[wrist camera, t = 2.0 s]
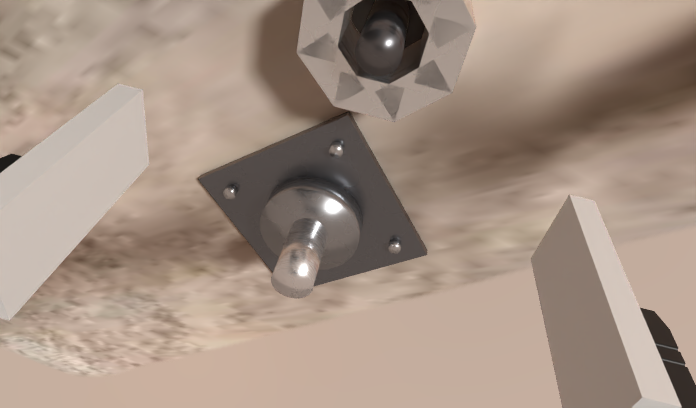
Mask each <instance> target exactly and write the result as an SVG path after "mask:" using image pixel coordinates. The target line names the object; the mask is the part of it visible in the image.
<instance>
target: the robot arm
mask: <svg viewBox="0 0 696 408" xmlns="http://www.w3.org/2000/svg"><path fill="white" fill-rule="evenodd" d="M148 165H149V158H148V146H147V134H146V121H145V109H144V97H143V89H139V88H135V87H130V86H126V85H122V84H117V85H115V86H114V87H113V88H111V89H110V90H109V91H108V92H106V93H105V94H104V95H102V96H101V97H100V98H98V99H97V100H96V101H94V102H93V103H92V104H90V105H89V106H88V107H86V108H85V109H84V110H83V111H81V112H80V113H79V114H77V115H76V116H75V117H73V118H72V119H71V120H69V121H68V122H67V123H65V124H64V125H63V126H62V127H60V128H59V129H58V130H56V131H55V132H54V133H52V134H51V135H50V136H48V137H47V138H46V139H44V140H43V141H42V142H40V143H39V144H38V145H37V146H35V147H34V148H33V149H31V150H30V151H29V152H27V153H26V154H25V155H23V156H19V155H15V154H10V155H7V156H5V157H2V158H0V318H1V319H5V320H9V321H10V320H11V319H12V318H13V316H14V315H15V314H16V313H17V312H18V311H19V310H20V309H21V307H22V306H23V305H24V304H25V303H26V302H27V301H28V300H29V298H30V297H31V296H32V295H33V294H34V293H35V292H36V291H37V290H38V288H39V287H40V286H41V285H42V284H43V283H44V282H45V281H46V279H47V278H48V277H49V276H50V275H51V274H52V273H53V272H54V271H55V269H56V268H57V267H58V266H59V265H60V264H61V263H62V262H63V260H64V259H65V258H66V257H67V256H68V255H69V254H70V253H71V251H72V250H73V249H74V248H75V247H76V246H77V245H78V244H79V243H80V241H81V240H82V239H83V238H84V237H85V236H86V235H87V234H88V232H89V231H90V230H91V229H92V228H93V227H94V226H95V225H96V224H97V222H98V221H99V220H100V219H101V218H102V217H103V216H104V215H105V213H106V212H107V211H108V210H109V209H110V208H111V207H112V206H113V204H114V203H115V202H116V201H117V200H118V199H119V198H120V197H121V196H122V194H123V193H124V192H125V191H126V190H127V189H128V188H129V187H130V185H131V184H132V183H133V182H134V181H135V180H136V179H137V178H138V177H139V175H140V174H141V173H142V172H143V171H144V170H145V169H146V168H147V166H148ZM531 262H532V267H533V272H534V276H535V281H536V286H537V290H538V295H539V300H540V304H541V309H542V314H543V318H544V323H545V328H546V332H547V337H548V342H549V347H550V351H551V356H552V361H553V365H554V370H555V375H556V380H557V384H558V389H559V394H560V398H561V403H562V408H696V385H695V383H694V381H693V379H692V376H691V374H690V372H689V370H688V368H687V367H685V361H684V359H683V357H682V355H681V353H680V352H678V347H677V344H676V342H675V340H674V338H673V336H672V333H671V331H670V329H669V328H668V327H667V326H666V325H665V323H664V322H663V321H662V320H661V319H660V318H659V316H658V315H657V314H656V313H655V312H654V311H651V310H647V309H643V308H640V307H639V305H638V302H637V300H636V298H635V295H634V293H633V291H632V288H631V286H630V284H629V281H628V279H627V276H626V274H625V272H624V269H623V267H622V265H621V262H620V260H619V258H618V255H617V253H616V250H615V248H614V246H613V243H612V241H611V238H610V236H609V234H608V231H607V229H606V227H605V224H604V222H603V220H602V217H601V215H600V212H599V210H598V208H597V205H596V203H595V201H594V200H590V199H586V198H582V197H578V196H574V195H570V194H569V196H568V198H567V199H566V201H565V203H564V204H563V206H562V208H561V209H560V211H559V213H558V214H557V216H556V218H555V219H554V221H553V223H552V224H551V226H550V228H549V229H548V231H547V233H546V234H545V236H544V238H543V239H542V241H541V243H540V244H539V246H538V248H537V249H536V251H535V253H534V254H533V256H532V258H531Z"/></svg>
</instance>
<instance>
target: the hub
mask: <svg viewBox="0 0 696 408" xmlns="http://www.w3.org/2000/svg"><path fill="white" fill-rule="evenodd" d="M198 180H199V181H200V182H201V183H202V185H203V186H204V187H205V188H206V190H207V191H208V192H209V193H210V195H211V196H212V197H213V198H214V200H215V201H216V202H217V203H218V205H219V206H220V207H221V208H222V210H223V211H224V212H225V213H226V215H227V216H228V217H229V218H230V220H231V221H232V222H233V223H234V225H235V226H236V227H237V228H238V230H239V231H240V232H241V233H242V235H243V236H244V237H245V238H246V240H247V241H248V242H249V243H250V245H251V246H252V247H253V248H254V250H255V251H256V252H257V253H258V255H259V256H260V257H261V258H262V260H263V261H264V262H265V263H266V265H267V266H268V267H269V268H270V270H271V271H272V272H273V274H272V277H271V283H272V285H273V287H274V288H275V289H276V290H277V291H278V292H279V293H280V294H282V295H284V296H287V297H290V298H303V297H306V296H308V295H309V294H310V293H311V292H312V289H313V286H316V285H320V284H324V283H327V282H331V281H334V280H338V279H342V278H345V277H349V276H353V275H356V274H360V273H363V272H367V271H371V270H374V269H378V268H381V267H385V266H389V265H392V264H396V263H399V262H403V261H407V260H410V259H414V258H417V257H421V256H425V255H427V249H426V247H425V245H424V243H423V242H422V240H421V238H420V236H419V235H418V233H417V231H416V229H415V227H414V226H413V224H412V222H411V220H410V219H409V217H408V215H407V213H406V211H405V210H404V208H403V206H402V204H401V202H400V201H399V199H398V197H397V195H396V194H395V192H394V190H393V188H392V186H391V185H390V183H389V181H388V179H387V178H386V176H385V174H384V172H383V170H382V169H381V167H380V165H379V163H378V161H377V160H376V158H375V156H374V154H373V153H372V151H371V149H370V147H369V145H368V144H367V142H366V140H365V138H364V137H363V135H362V133H361V131H360V129H359V128H358V126H357V124H356V122H355V120H354V119H353V117H352V115H351V113H350V112H347V113H344V114H342V115H340V116H337V117H335V118H333V119H330V120H328V121H326V122H323V123H321V124H319V125H316V126H314V127H312V128H309V129H307V130H305V131H303V132H300V133H298V134H296V135H293V136H291V137H289V138H286V139H284V140H282V141H279V142H277V143H275V144H272V145H270V146H268V147H265V148H263V149H261V150H258V151H256V152H254V153H251V154H249V155H247V156H245V157H242V158H240V159H238V160H235V161H233V162H231V163H228V164H226V165H224V166H221V167H219V168H217V169H214V170H212V171H210V172H207V173H205V174H203V175H201V176H200V177H199V179H198Z"/></svg>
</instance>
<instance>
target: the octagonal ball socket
mask: <svg viewBox="0 0 696 408" xmlns="http://www.w3.org/2000/svg"><path fill="white" fill-rule="evenodd" d="M360 1H362V0H304V3H303V10H302V17H301V24H300V31H299V39H298V46H297V54H298V56H299V57H300V58H301V60H302V61H303V63H304V64H305V66H306V67H307V69H308V70H309V71H310V73H311V74H312V76H313V77H314V79H315V80H316V82H317V83H318V84H319V86H320V87H321V89H322V90H323V92H324V93H325V95H326V96H327V97H328V99H329V100H330V102H331V103H332V105H333V106H334V107H338V108H342V109H346V110H350V111H354V112H358V113H361V114H365V115H369V116H373V117H377V118H381V119H385V120H389V121H392V122H396V121H398V120H400V119H402V118H404V117H406V116H408V115H410V114H412V113H413V112H415V111H417V110H419V109H421V108H423V107H425V106H427V105H429V104H431V103H433V102H435V101H437V100H439V99H441V98H443V97H445V96H447V95H449V94H451V93H452V92H453V90H454V87H455V84H456V81H457V79H458V76H459V73H460V70H461V68H462V65H463V62H464V59H465V57H466V54H467V51H468V48H469V46H470V43H471V40H472V37H473V35H474V32H475V29H476V23H475V18H474V12H473V7H472V1H471V0H409V1H412V3H413V5H414V6H415V8H416V10H417V12H418V14H419V16H420V17H421V19H422V21H423V23H424V25H425V29H424V33H423V36H422V38H421V39H420V40H418V41H416V42H415V43H413V44H411V45H409V46H408V47H406V48H404V50H403V56H402V60H401V63H400V65H399V66H398V68H397V69H396V70H395V71H394V72H392V73H390V74H388V75H385V76H373V75H370V74H368V73H366V72H365V71H363V70H362V69H361V68H360V66H359V65H358V63H357V60H356V57H355V48H356V44H357V42H358V39H359V37H360V34H359V32H358V30H357V29H356V27H355V26H354V24H353V22H352V21H351V18H352V13H353V8H354V5H356V4H357V3H359V2H360Z"/></svg>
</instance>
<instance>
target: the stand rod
mask: <svg viewBox="0 0 696 408" xmlns="http://www.w3.org/2000/svg"><path fill="white" fill-rule="evenodd" d="M409 17H410V10H409V6H408V4H407V2H406V1H405V0H376V1H375V2H374V4H373V6H372V8H371V11H370V13H369V15H368V18H367V20H366V23H365V25H364V27H363V30H362V32H361V35H360V37H359V39H358V42H357V44H356V48H355V57H356V60H357V63H358V65H359V66H360V68H361V69H362V70H363V71H365V72H366V73H368V74H370V75H373V76H385V75H388V74H390V73H392V72H394V71H395V70H396V69H397V68H398V66H399V65H400V63H401V60H402V56H403V50H404V44H405V39H406V33H407V28H408V22H409Z"/></svg>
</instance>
